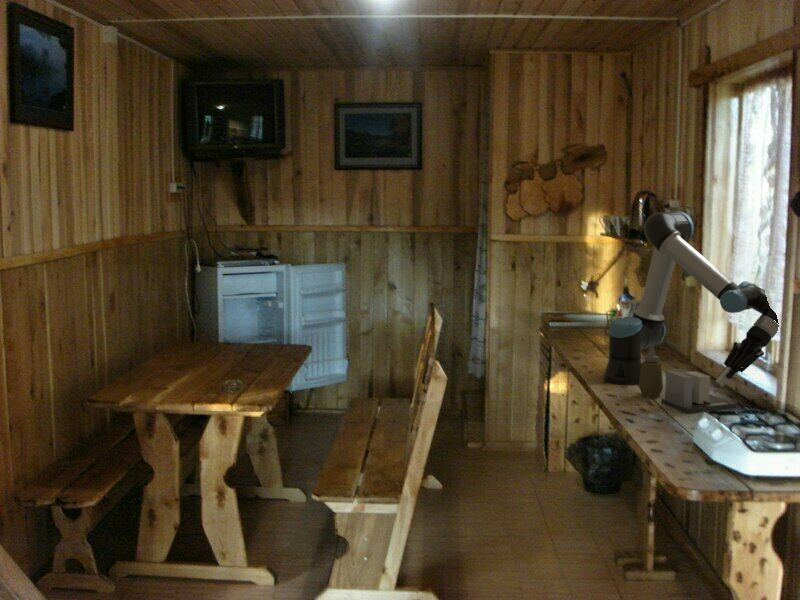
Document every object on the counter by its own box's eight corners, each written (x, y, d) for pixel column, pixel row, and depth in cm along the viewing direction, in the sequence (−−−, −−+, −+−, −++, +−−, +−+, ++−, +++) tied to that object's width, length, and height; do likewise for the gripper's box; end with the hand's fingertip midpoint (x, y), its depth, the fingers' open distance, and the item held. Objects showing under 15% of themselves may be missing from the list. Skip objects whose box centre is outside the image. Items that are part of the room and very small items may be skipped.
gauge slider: (676, 399, 275) (676, 372, 274) (693, 397, 277) (694, 371, 276) (696, 406, 265) (697, 379, 264) (714, 404, 267) (715, 377, 266)
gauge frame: (661, 403, 277) (662, 370, 275) (708, 397, 283) (709, 365, 281) (687, 413, 264) (688, 378, 262) (736, 408, 269) (737, 373, 268)
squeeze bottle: (658, 393, 290) (659, 343, 288) (666, 399, 282) (667, 347, 280) (635, 393, 290) (636, 344, 288) (643, 399, 282) (644, 348, 280)
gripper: (782, 342, 272) (738, 395, 270) (755, 335, 285) (712, 386, 282) (770, 327, 270) (725, 381, 267) (742, 321, 282) (700, 373, 280)
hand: (719, 384), depth 275 cm, fingers closed
